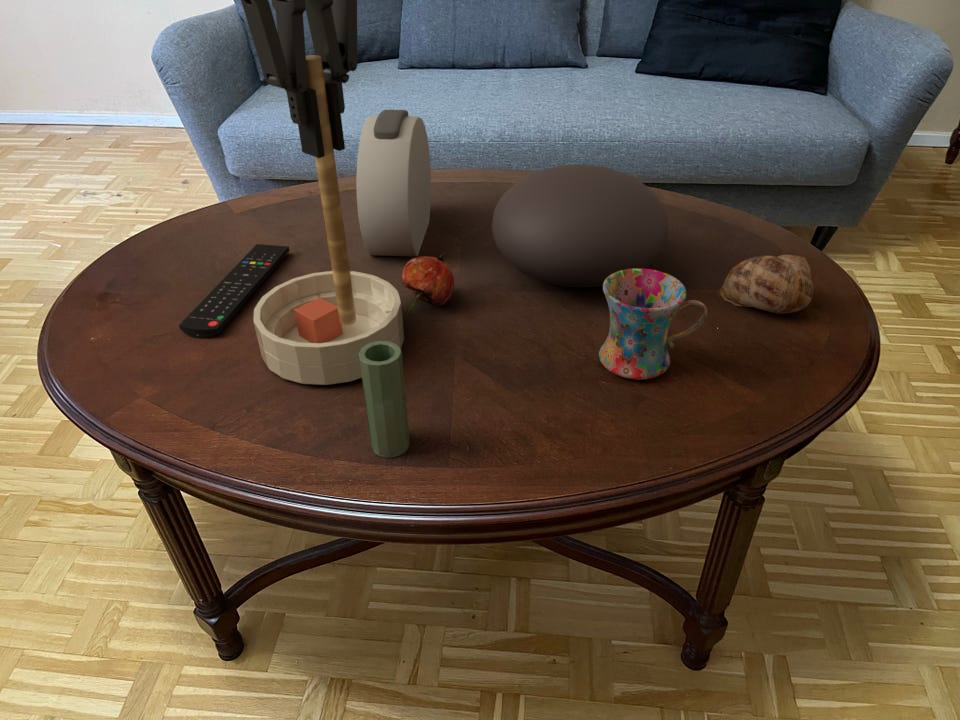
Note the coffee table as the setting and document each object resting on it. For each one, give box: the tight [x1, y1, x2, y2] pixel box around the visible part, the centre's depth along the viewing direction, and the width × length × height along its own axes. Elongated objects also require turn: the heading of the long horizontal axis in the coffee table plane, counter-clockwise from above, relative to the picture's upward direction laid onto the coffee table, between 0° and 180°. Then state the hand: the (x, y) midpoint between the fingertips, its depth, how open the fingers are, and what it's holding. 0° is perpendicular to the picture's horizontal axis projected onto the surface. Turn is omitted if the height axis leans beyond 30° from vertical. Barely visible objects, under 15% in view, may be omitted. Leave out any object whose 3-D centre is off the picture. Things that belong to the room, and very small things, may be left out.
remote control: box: [178, 243, 290, 339], centre depth 102 cm, size 5×24×1 cm, turn 170°
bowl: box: [252, 270, 405, 386], centre depth 89 cm, size 18×18×6 cm
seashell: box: [719, 254, 814, 315], centre depth 96 cm, size 10×9×10 cm
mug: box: [598, 268, 708, 381], centre depth 84 cm, size 12×9×11 cm
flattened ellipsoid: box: [491, 163, 670, 288], centre depth 102 cm, size 25×25×15 cm
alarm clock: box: [355, 109, 432, 258], centre depth 110 cm, size 21×8×20 cm, turn 175°
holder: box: [359, 341, 410, 459], centre depth 72 cm, size 4×4×12 cm
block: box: [294, 297, 343, 343], centre depth 91 cm, size 4×4×4 cm
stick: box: [306, 54, 356, 325], centre depth 77 cm, size 2×2×30 cm
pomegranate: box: [401, 251, 455, 316], centre depth 97 cm, size 7×7×10 cm
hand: (323, 150), depth 74 cm, fingers closed on stick, 2 cm apart
